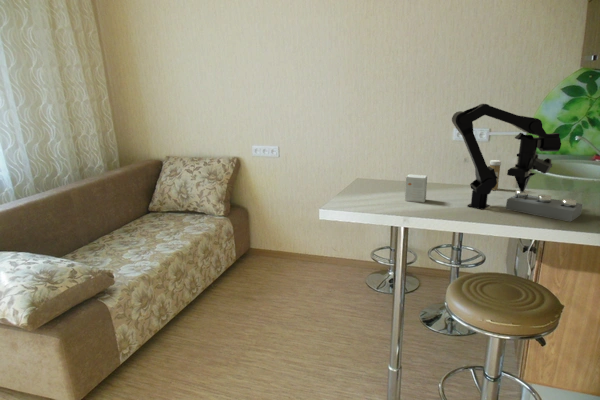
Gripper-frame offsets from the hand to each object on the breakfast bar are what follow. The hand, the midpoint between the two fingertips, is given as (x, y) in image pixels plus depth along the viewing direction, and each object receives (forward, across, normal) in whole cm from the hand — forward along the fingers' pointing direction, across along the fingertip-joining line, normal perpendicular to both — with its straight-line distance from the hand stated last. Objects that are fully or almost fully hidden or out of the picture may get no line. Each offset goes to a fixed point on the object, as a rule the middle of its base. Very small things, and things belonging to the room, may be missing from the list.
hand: (522, 191), depth 158 cm
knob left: (+5, 0, 0) cm, 5 cm away
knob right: (+5, 0, -16) cm, 17 cm away
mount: (+7, 0, -8) cm, 10 cm away
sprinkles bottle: (+7, +22, +20) cm, 31 cm away
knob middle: (+5, 0, -8) cm, 10 cm away
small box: (+7, -19, +35) cm, 40 cm away
